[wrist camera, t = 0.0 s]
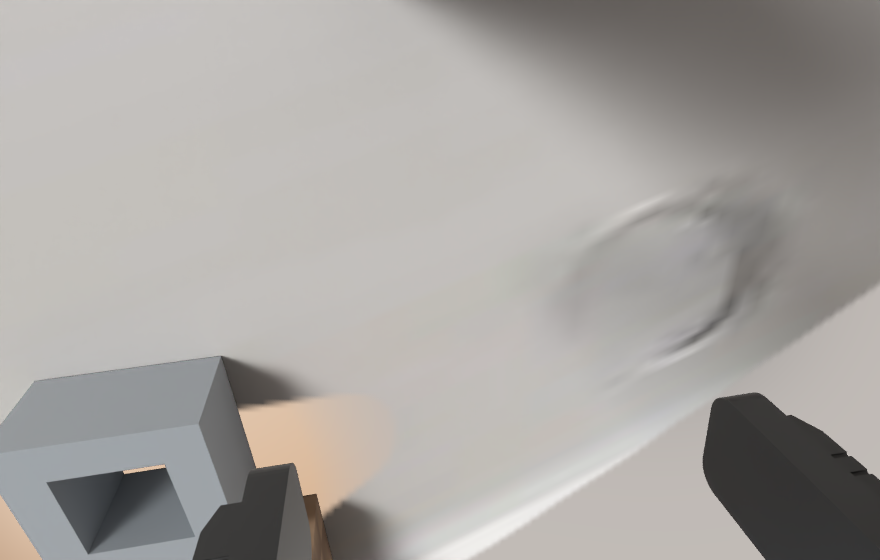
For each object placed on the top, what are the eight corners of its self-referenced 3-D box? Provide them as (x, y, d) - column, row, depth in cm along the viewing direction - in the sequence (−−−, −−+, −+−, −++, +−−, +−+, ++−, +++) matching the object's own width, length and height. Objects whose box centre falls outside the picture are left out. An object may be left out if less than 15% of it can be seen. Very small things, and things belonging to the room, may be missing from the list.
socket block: (34, 381, 27) (-24, 456, 23) (221, 355, 28) (198, 423, 24) (99, 504, 32) (60, 587, 27) (259, 478, 33) (246, 555, 28)
